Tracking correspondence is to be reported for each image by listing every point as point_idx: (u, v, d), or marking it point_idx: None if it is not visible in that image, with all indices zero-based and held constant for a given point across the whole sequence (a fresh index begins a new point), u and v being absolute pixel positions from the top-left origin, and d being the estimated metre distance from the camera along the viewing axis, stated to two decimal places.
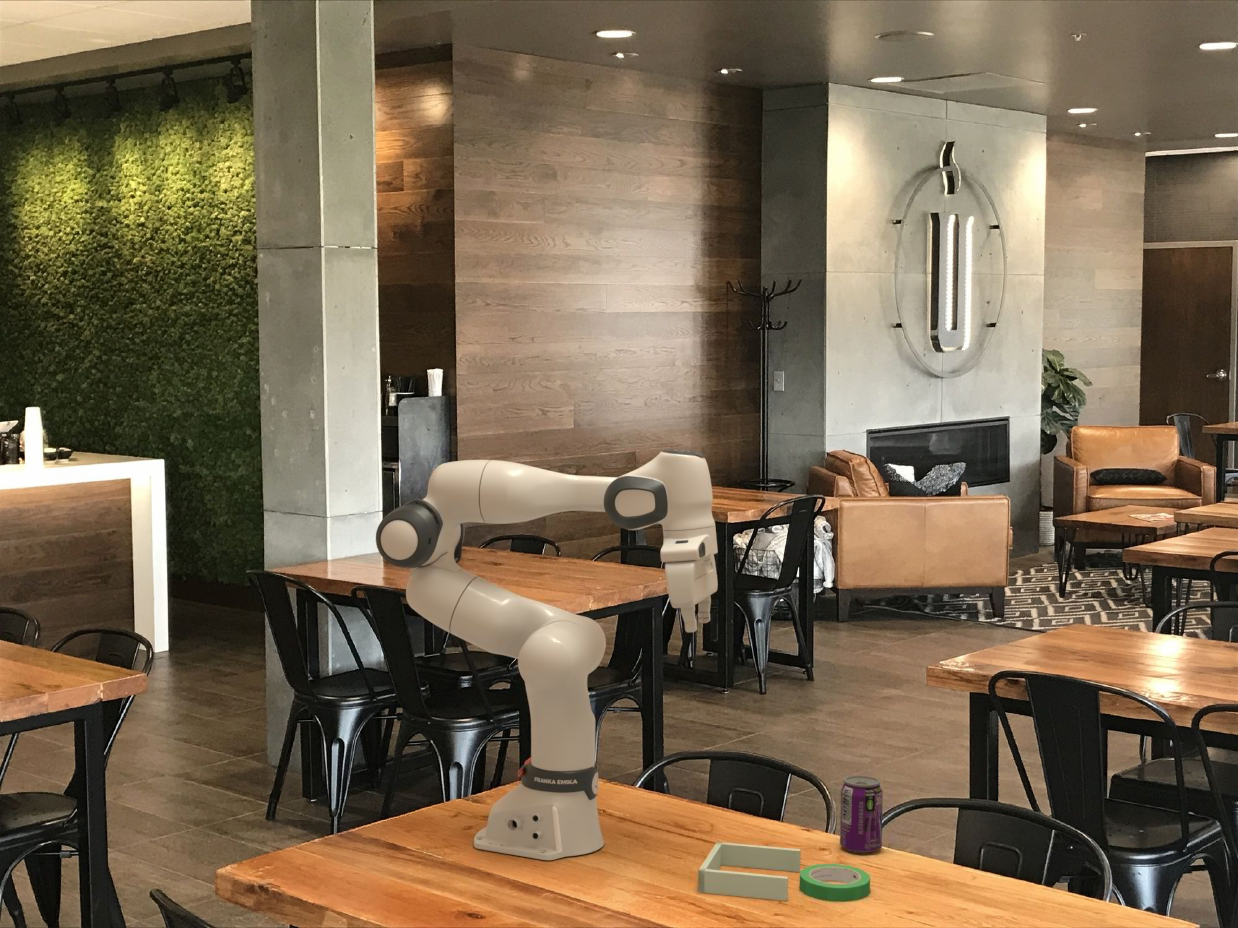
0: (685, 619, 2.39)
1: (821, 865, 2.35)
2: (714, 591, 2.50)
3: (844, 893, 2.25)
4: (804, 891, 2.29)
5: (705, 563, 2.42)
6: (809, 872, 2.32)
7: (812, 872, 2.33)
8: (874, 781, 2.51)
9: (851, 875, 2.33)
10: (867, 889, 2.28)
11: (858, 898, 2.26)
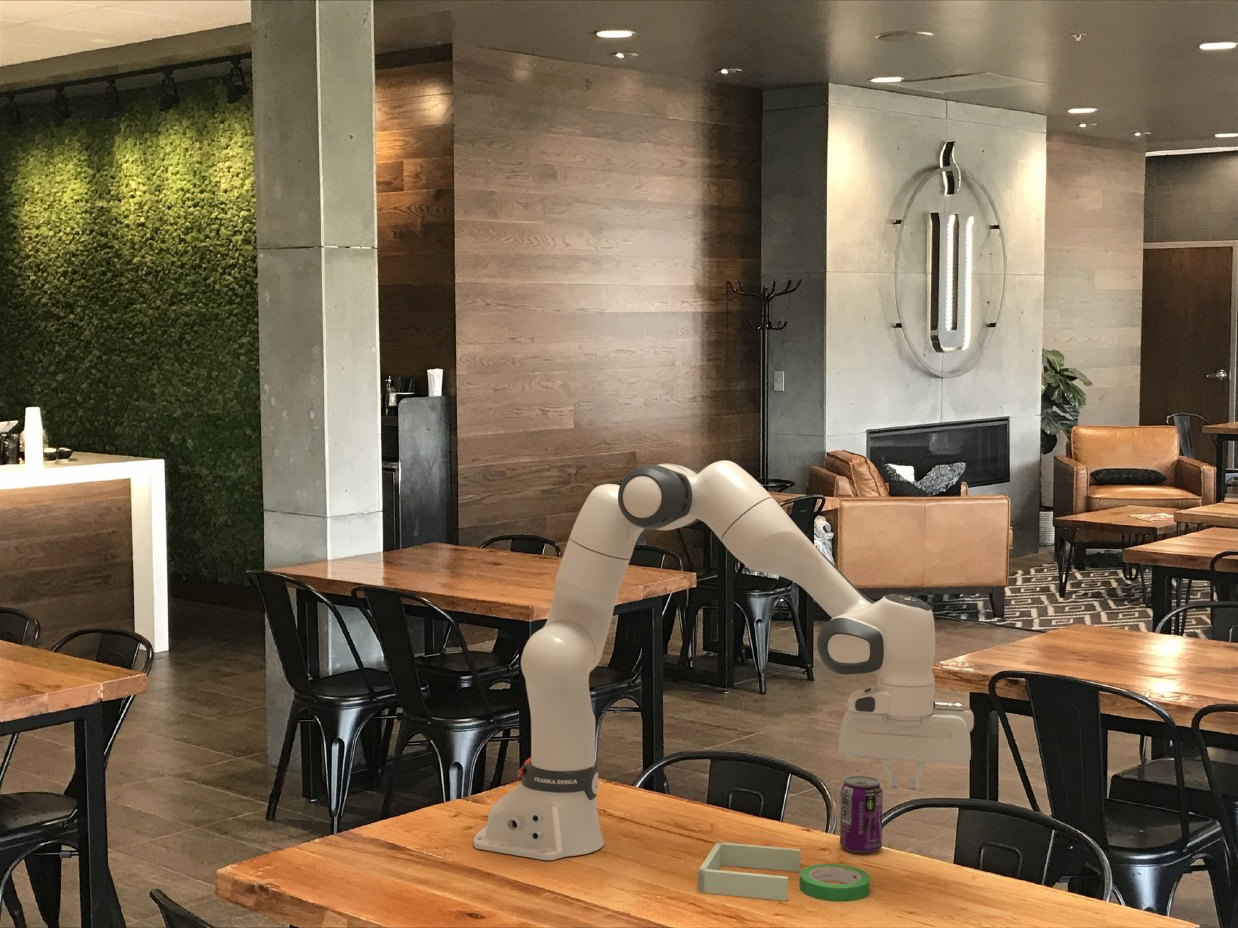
0: None
1: (821, 865, 2.35)
2: (948, 762, 2.24)
3: (844, 893, 2.25)
4: (804, 891, 2.29)
5: (892, 722, 2.25)
6: (809, 872, 2.32)
7: (812, 872, 2.33)
8: (874, 781, 2.51)
9: (851, 875, 2.33)
10: (867, 889, 2.28)
11: (858, 898, 2.26)
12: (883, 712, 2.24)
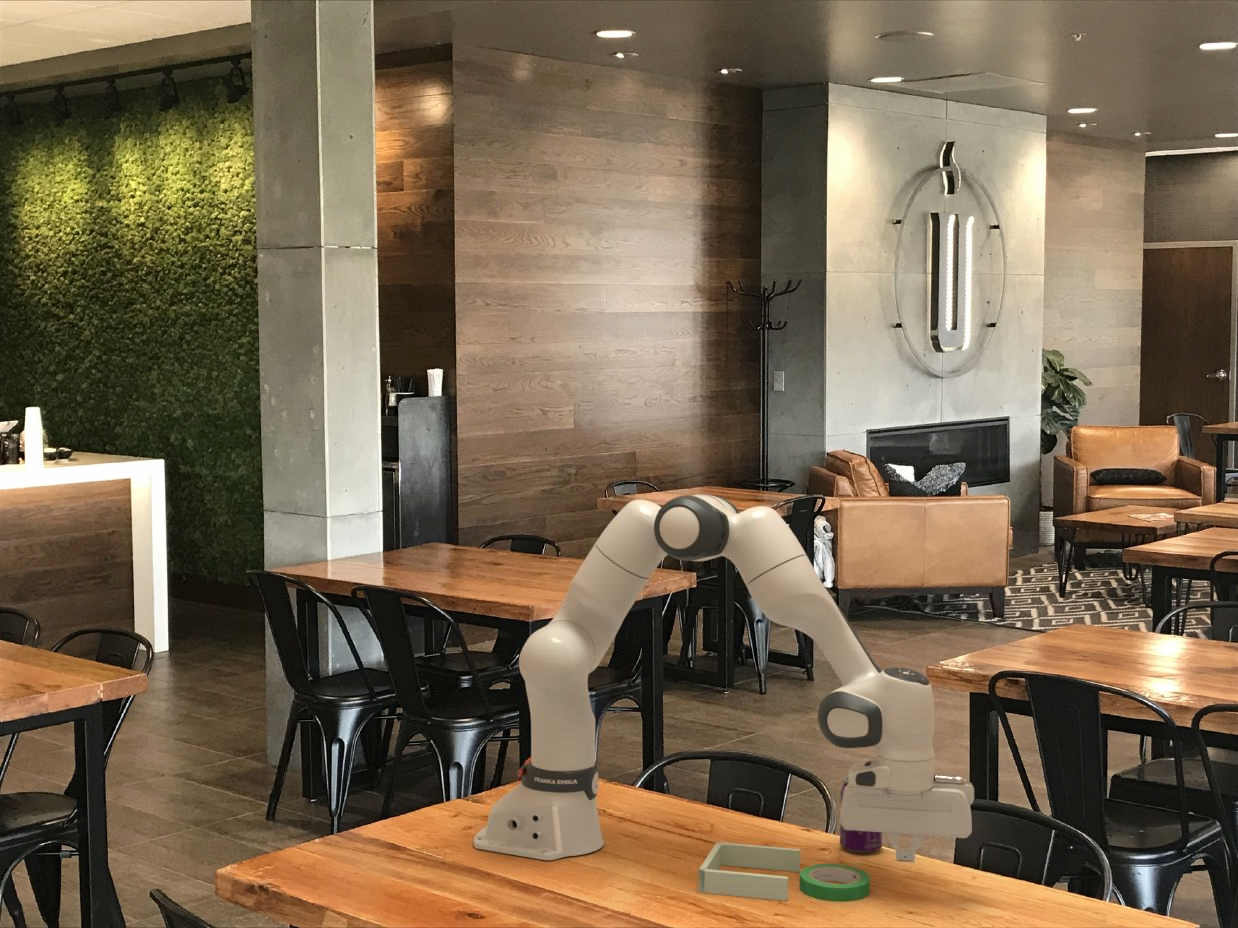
0: None
1: (821, 865, 2.35)
2: (949, 835, 2.24)
3: (844, 893, 2.25)
4: (804, 891, 2.29)
5: (893, 796, 2.25)
6: (809, 872, 2.32)
7: (812, 872, 2.33)
8: None
9: (851, 875, 2.33)
10: (867, 889, 2.28)
11: (858, 898, 2.26)
12: (884, 787, 2.25)
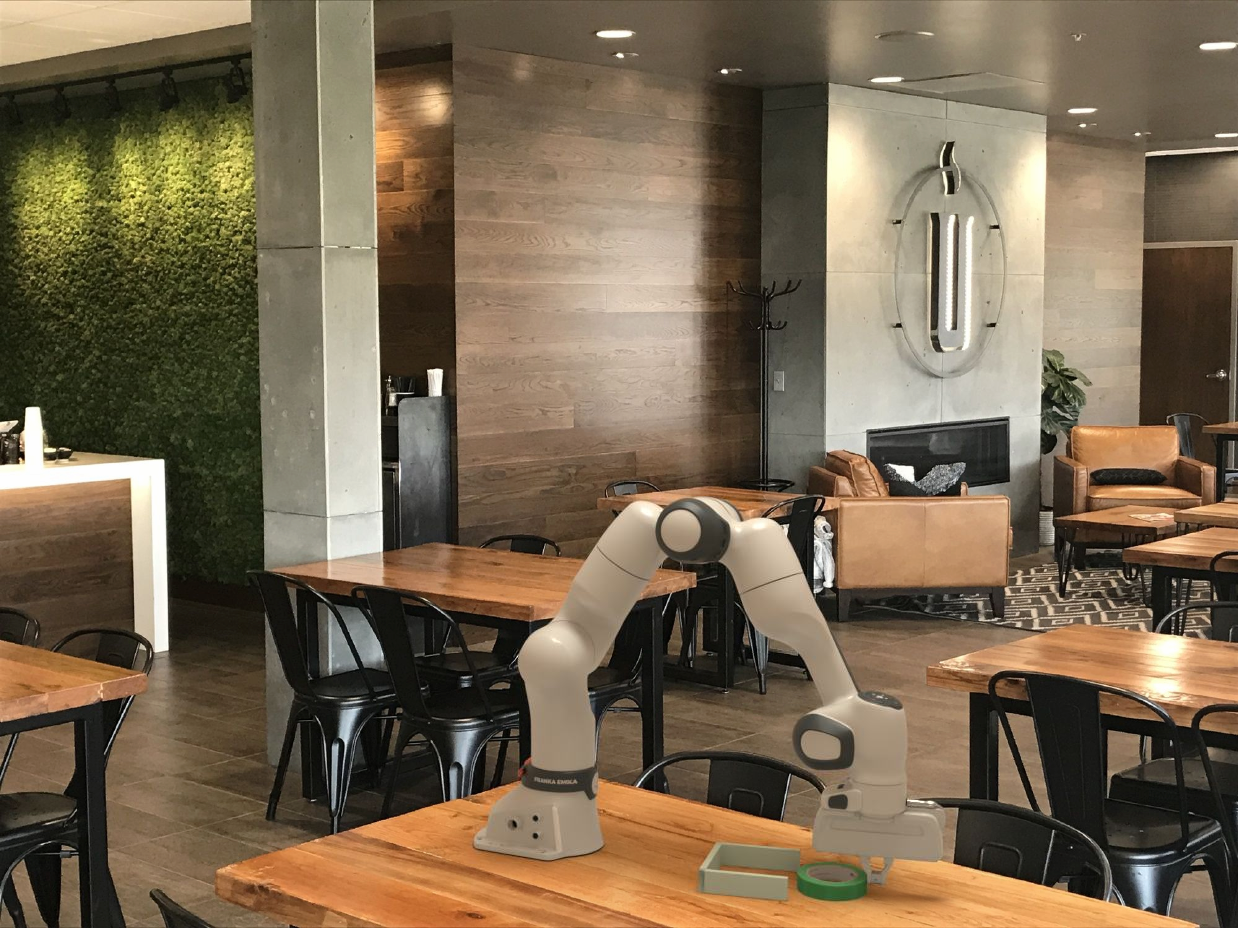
0: None
1: (818, 863, 2.36)
2: (920, 859, 2.26)
3: (841, 891, 2.26)
4: (801, 889, 2.29)
5: (865, 819, 2.27)
6: (806, 870, 2.32)
7: (809, 870, 2.33)
8: None
9: (848, 873, 2.33)
10: (864, 887, 2.28)
11: (855, 896, 2.26)
12: (855, 810, 2.26)
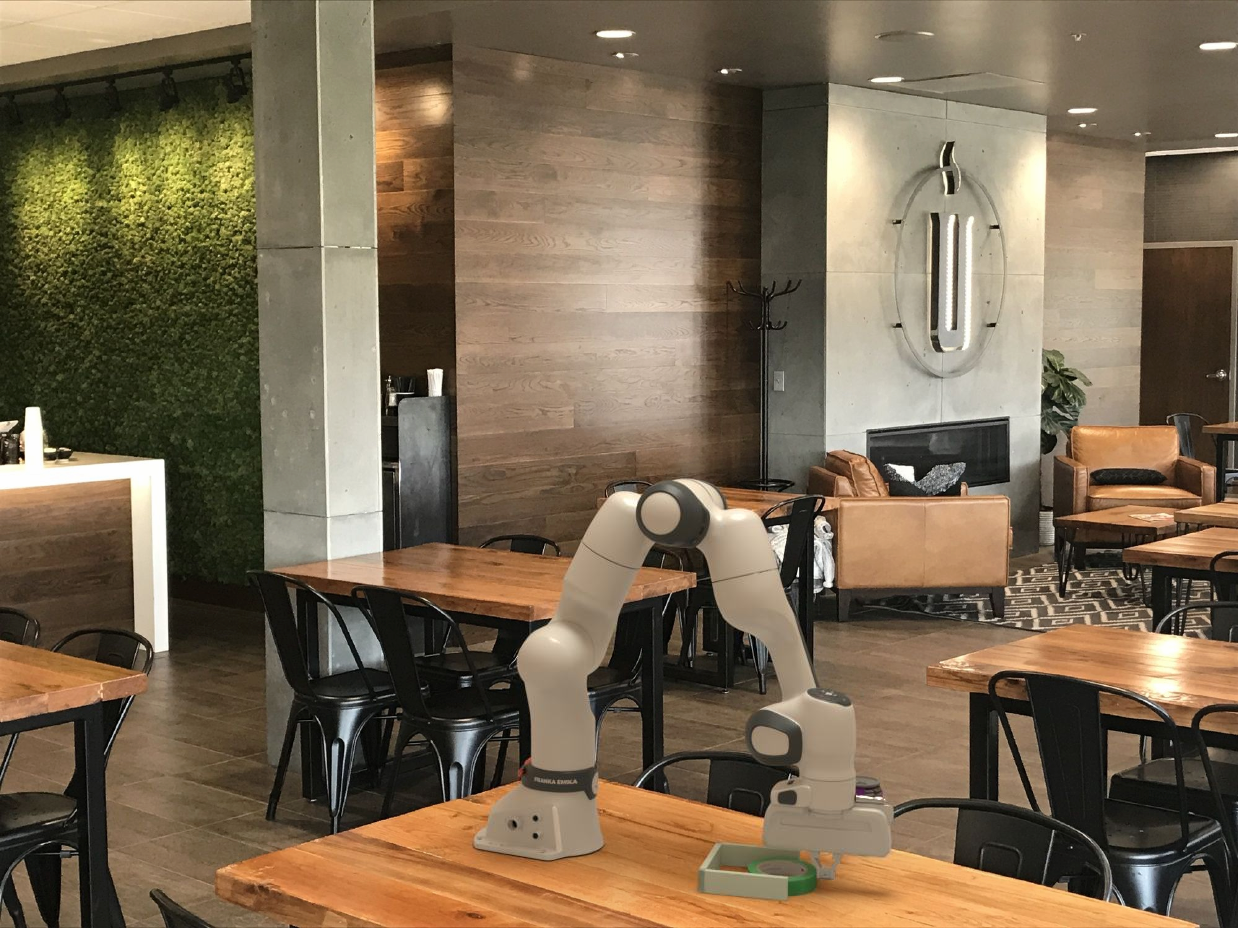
0: None
1: (770, 858, 2.38)
2: (868, 854, 2.28)
3: (789, 886, 2.28)
4: None
5: (814, 815, 2.29)
6: (757, 865, 2.34)
7: (760, 865, 2.35)
8: (874, 781, 2.51)
9: (799, 868, 2.35)
10: (813, 882, 2.30)
11: (804, 891, 2.29)
12: (804, 805, 2.28)
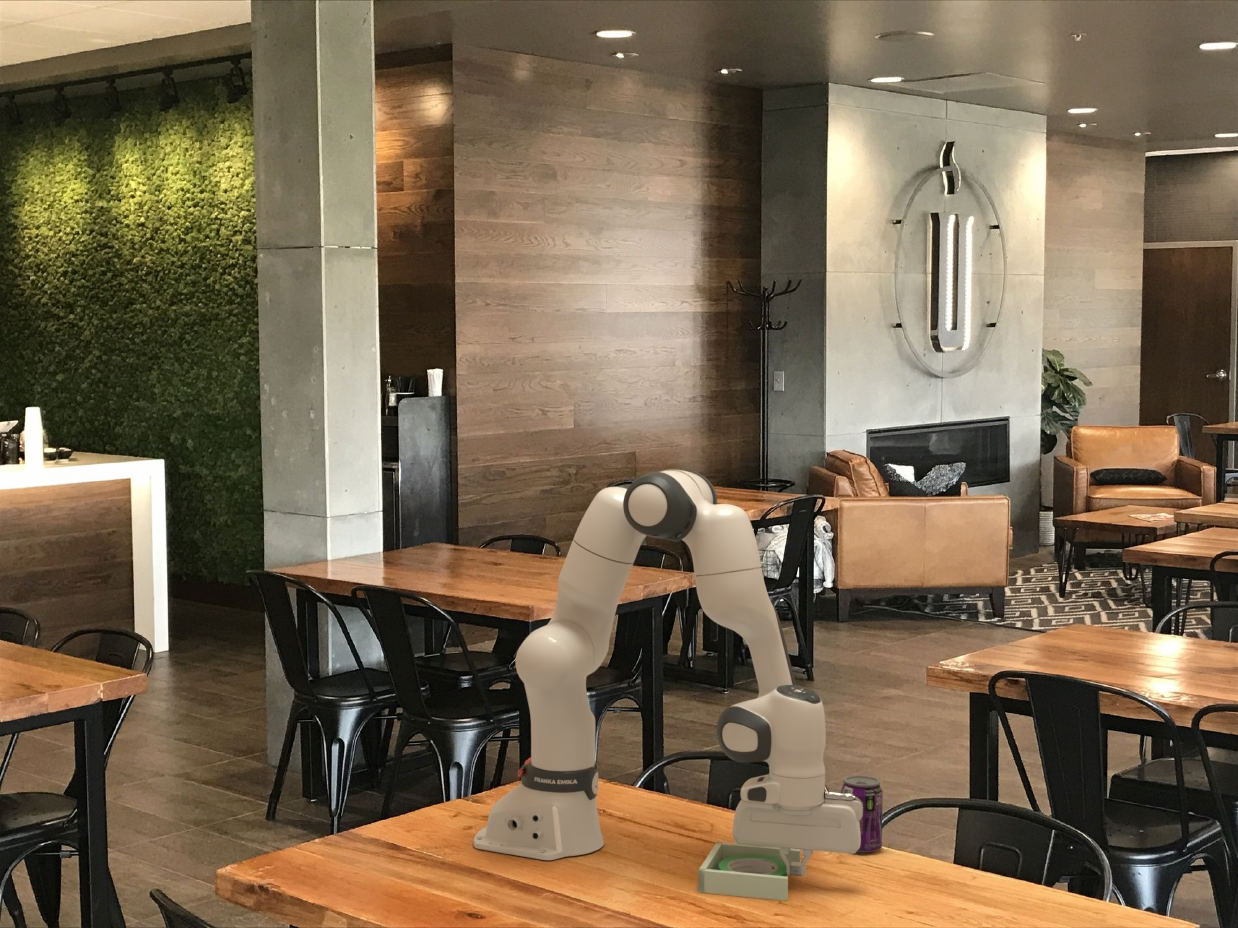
0: None
1: (741, 856, 2.39)
2: (838, 851, 2.29)
3: None
4: None
5: (783, 811, 2.30)
6: (728, 863, 2.35)
7: (731, 863, 2.36)
8: (874, 781, 2.51)
9: (769, 866, 2.37)
10: None
11: None
12: (774, 802, 2.29)
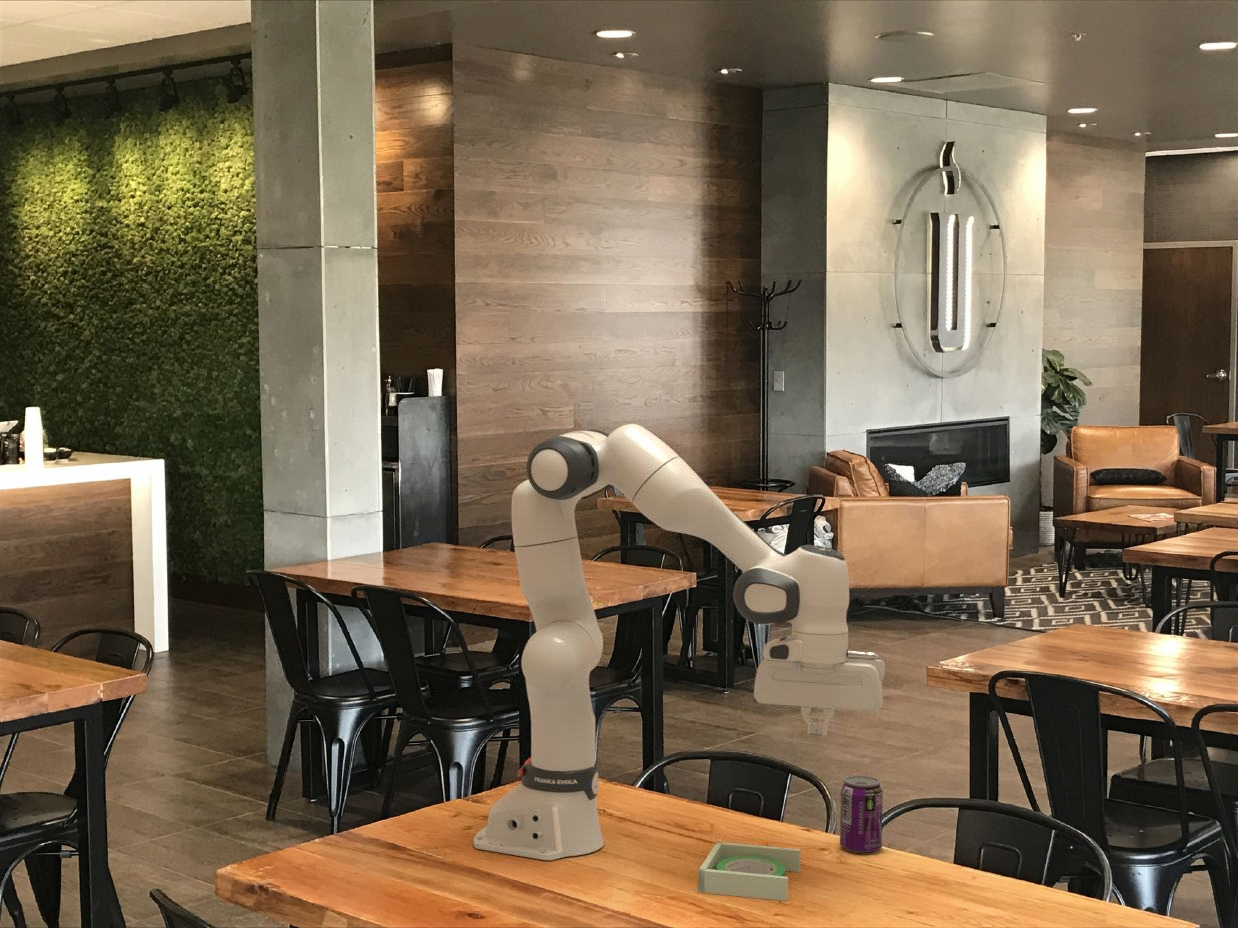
0: None
1: (740, 857, 2.39)
2: (859, 709, 2.28)
3: None
4: None
5: (805, 669, 2.29)
6: (726, 864, 2.36)
7: (729, 864, 2.36)
8: (874, 781, 2.51)
9: (768, 867, 2.37)
10: None
11: None
12: (796, 660, 2.28)
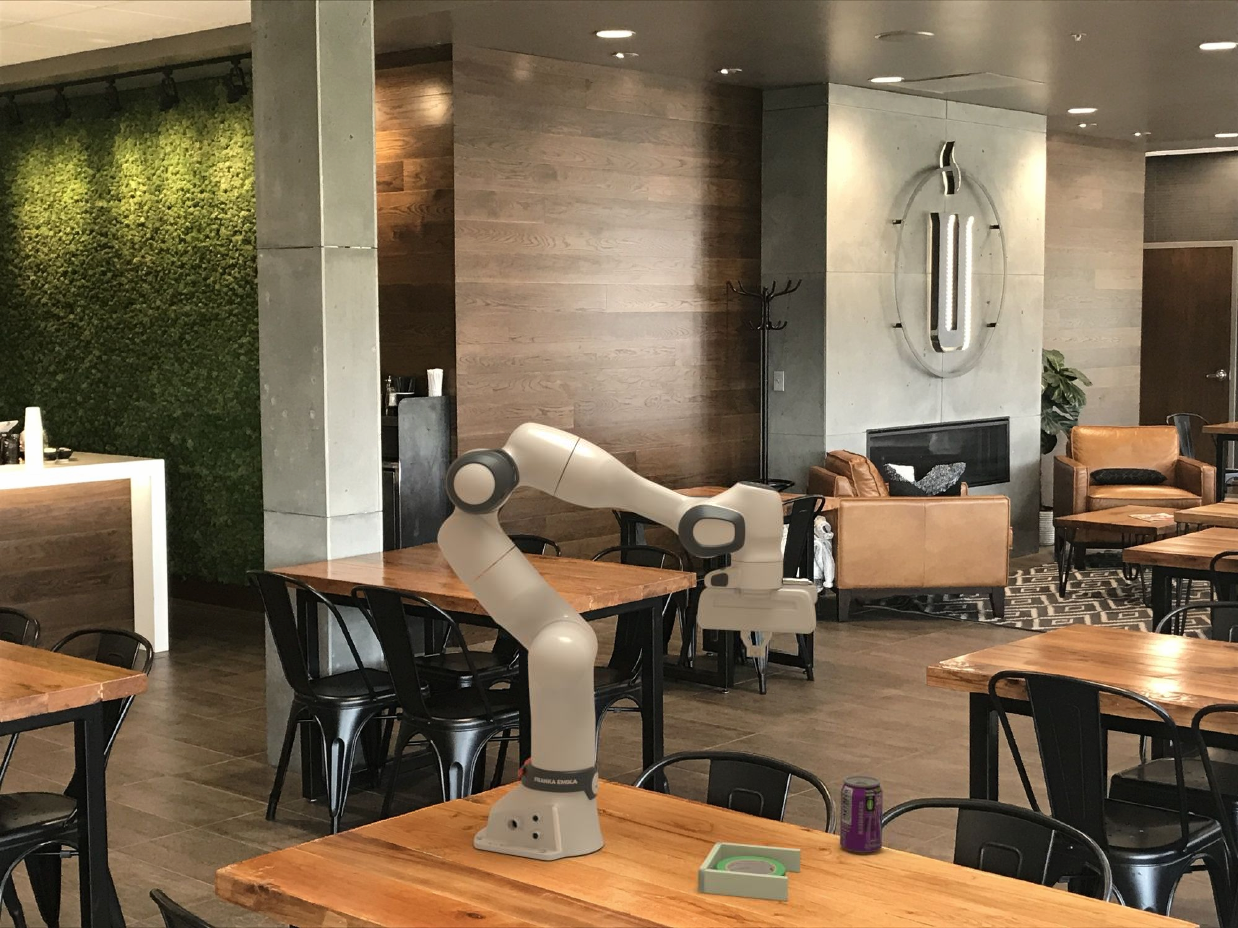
0: None
1: (740, 857, 2.39)
2: (794, 631, 2.47)
3: None
4: None
5: (744, 596, 2.48)
6: (726, 864, 2.36)
7: (729, 864, 2.36)
8: (874, 781, 2.51)
9: (768, 867, 2.37)
10: None
11: None
12: (735, 586, 2.47)
